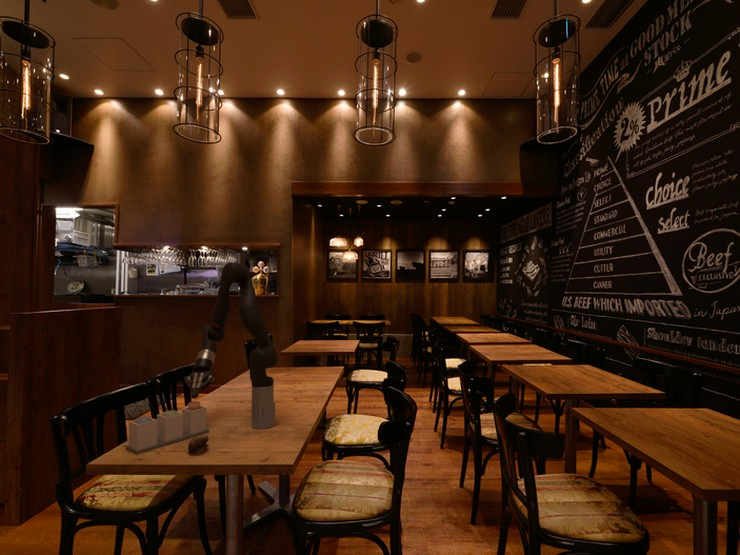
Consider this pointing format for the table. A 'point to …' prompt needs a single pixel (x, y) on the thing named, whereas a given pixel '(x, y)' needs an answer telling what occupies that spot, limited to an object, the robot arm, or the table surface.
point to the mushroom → (198, 444)
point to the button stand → (166, 430)
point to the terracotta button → (194, 405)
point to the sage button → (170, 413)
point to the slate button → (142, 420)
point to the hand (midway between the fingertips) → (193, 397)
